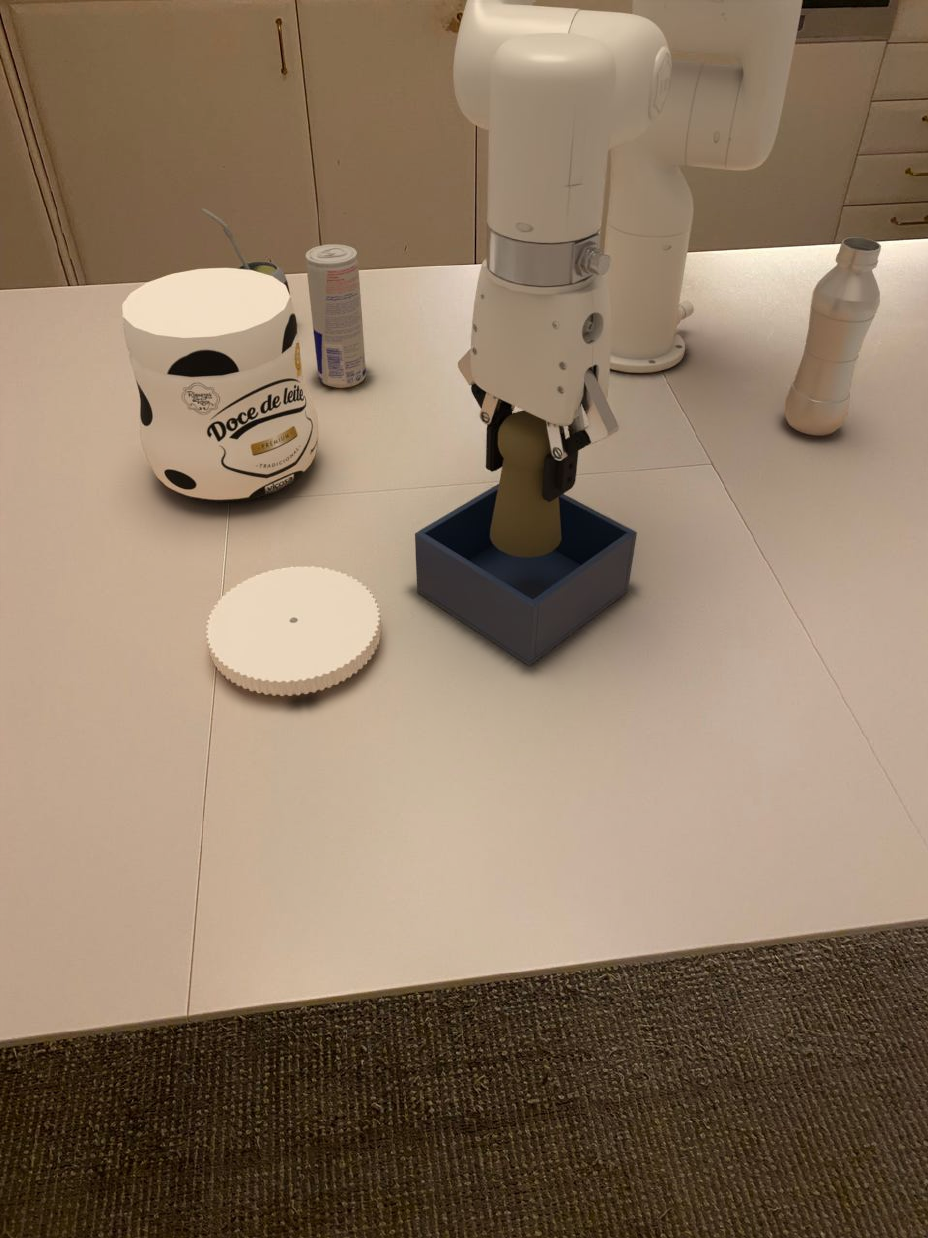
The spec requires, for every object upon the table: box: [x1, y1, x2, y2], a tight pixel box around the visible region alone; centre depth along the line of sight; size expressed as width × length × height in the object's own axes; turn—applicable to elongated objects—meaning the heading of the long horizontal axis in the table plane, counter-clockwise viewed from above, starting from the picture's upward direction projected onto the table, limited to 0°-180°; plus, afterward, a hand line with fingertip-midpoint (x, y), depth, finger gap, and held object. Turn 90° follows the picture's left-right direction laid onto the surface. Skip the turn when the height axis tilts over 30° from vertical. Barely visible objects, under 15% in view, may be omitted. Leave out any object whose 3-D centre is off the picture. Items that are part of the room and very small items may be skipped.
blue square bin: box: [414, 483, 638, 667], centre depth 82 cm, size 13×13×6 cm
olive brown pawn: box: [490, 410, 561, 557], centre depth 76 cm, size 6×6×11 cm
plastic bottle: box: [783, 236, 882, 437], centre depth 98 cm, size 6×7×20 cm
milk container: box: [121, 267, 319, 503], centre depth 92 cm, size 17×17×18 cm
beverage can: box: [305, 243, 367, 389], centre depth 107 cm, size 6×6×15 cm
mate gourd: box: [201, 207, 291, 296], centre depth 117 cm, size 8×8×15 cm
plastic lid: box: [205, 565, 382, 697], centre depth 78 cm, size 14×14×2 cm
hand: (529, 476), depth 76 cm, fingers closed on olive brown pawn, 5 cm apart
